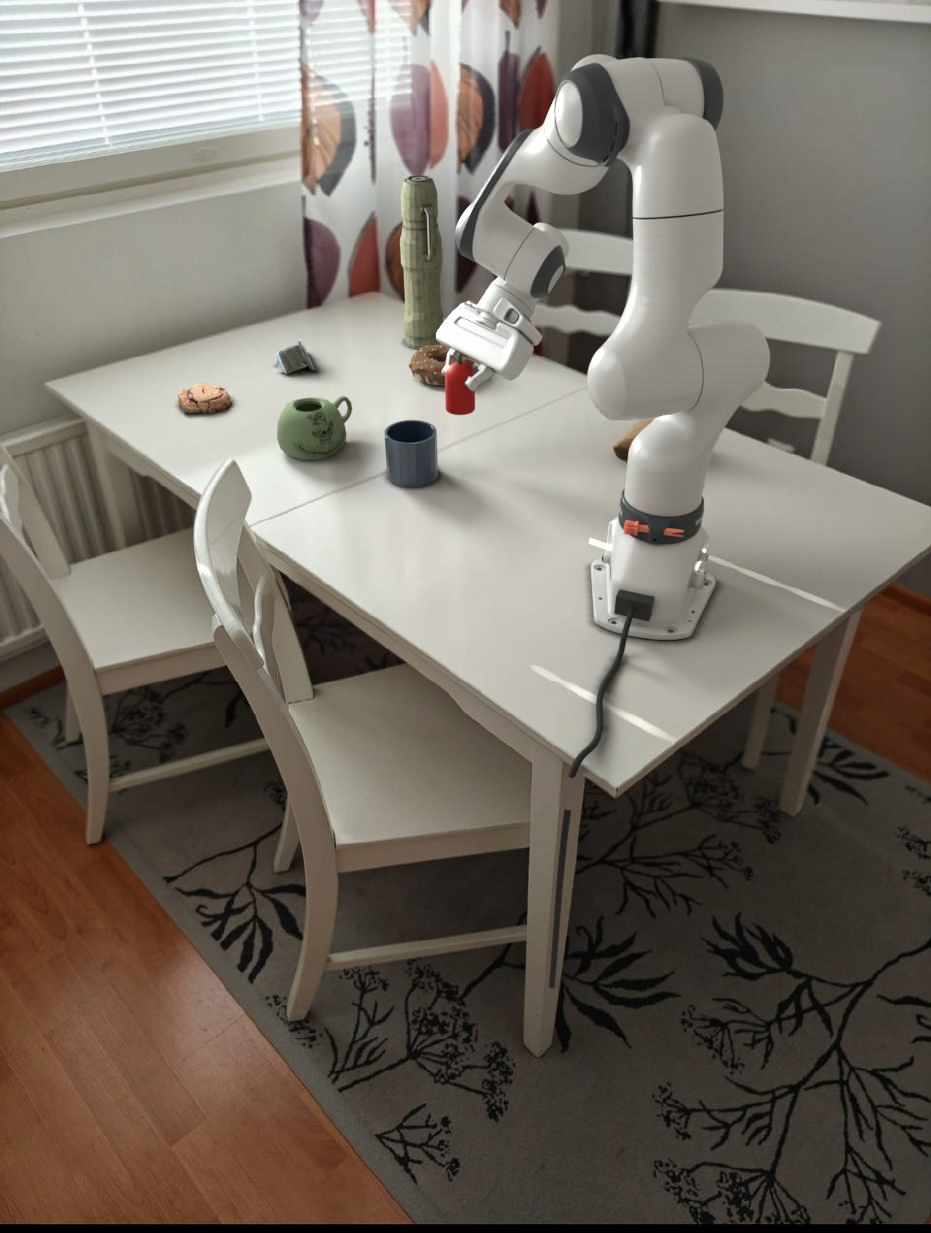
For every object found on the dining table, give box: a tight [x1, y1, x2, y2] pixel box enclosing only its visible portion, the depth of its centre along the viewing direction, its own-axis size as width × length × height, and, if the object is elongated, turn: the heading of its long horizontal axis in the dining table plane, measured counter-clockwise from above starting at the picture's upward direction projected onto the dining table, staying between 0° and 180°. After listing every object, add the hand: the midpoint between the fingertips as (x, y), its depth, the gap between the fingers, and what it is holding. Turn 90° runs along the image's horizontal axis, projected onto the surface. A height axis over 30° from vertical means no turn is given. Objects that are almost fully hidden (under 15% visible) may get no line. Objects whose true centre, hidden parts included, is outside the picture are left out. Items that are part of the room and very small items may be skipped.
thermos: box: [399, 174, 445, 350], centre depth 215 cm, size 9×12×35 cm
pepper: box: [444, 353, 476, 416], centre depth 174 cm, size 5×5×10 cm
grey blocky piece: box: [274, 337, 316, 375], centre depth 214 cm, size 10×7×12 cm
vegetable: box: [612, 418, 655, 461], centre depth 180 cm, size 16×11×10 cm
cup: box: [384, 419, 439, 488], centre depth 175 cm, size 9×9×8 cm
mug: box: [276, 395, 353, 461], centre depth 184 cm, size 16×13×9 cm
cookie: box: [177, 382, 232, 414], centre depth 200 cm, size 10×11×3 cm
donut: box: [408, 344, 476, 386], centre depth 209 cm, size 14×14×5 cm
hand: (457, 382), depth 173 cm, fingers closed on pepper, 5 cm apart
